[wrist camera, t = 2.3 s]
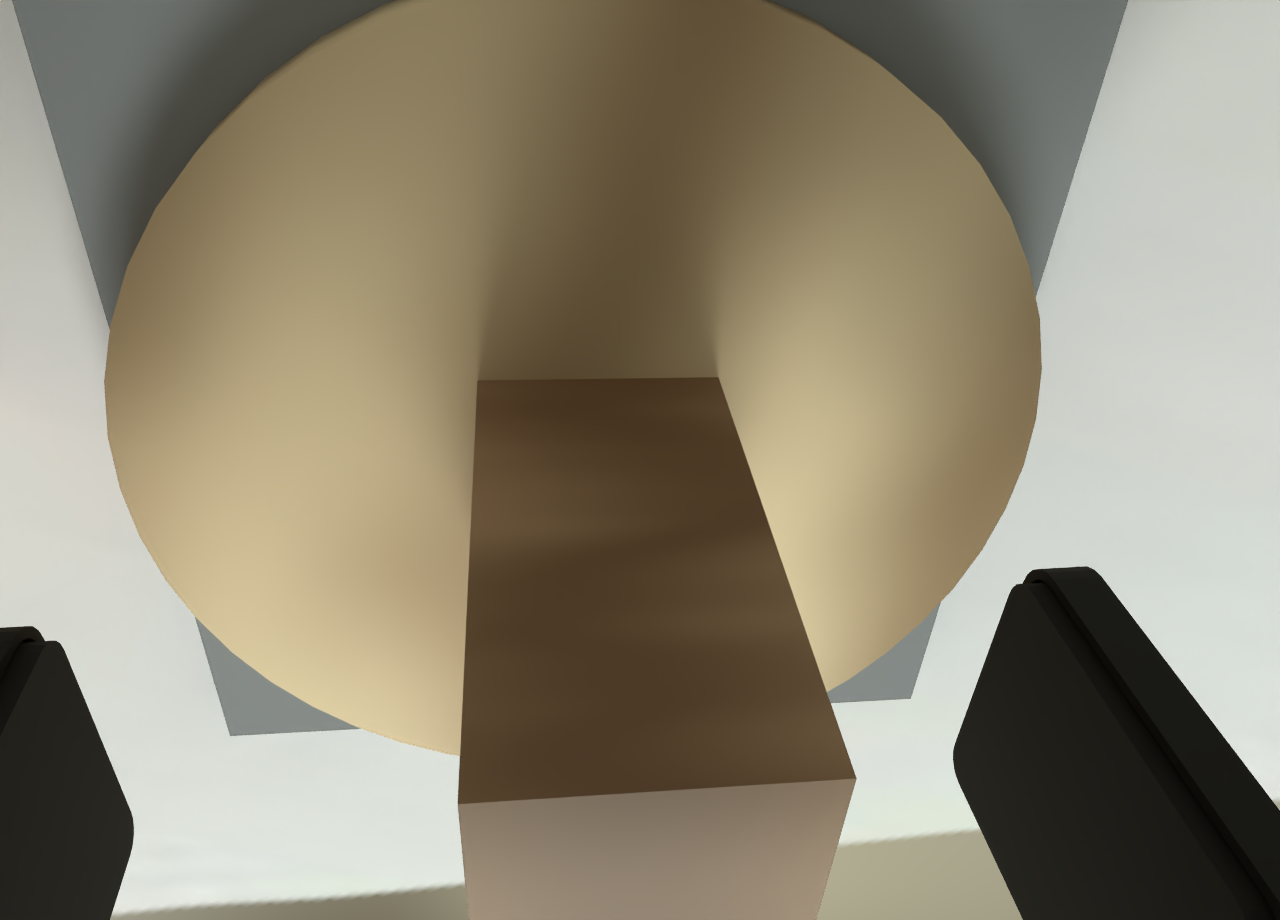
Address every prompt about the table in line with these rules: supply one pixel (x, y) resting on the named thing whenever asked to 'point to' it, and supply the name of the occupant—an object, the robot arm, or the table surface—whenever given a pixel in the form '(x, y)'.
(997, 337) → the lid
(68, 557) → the table surface
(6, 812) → the robot arm
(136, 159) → the mat
